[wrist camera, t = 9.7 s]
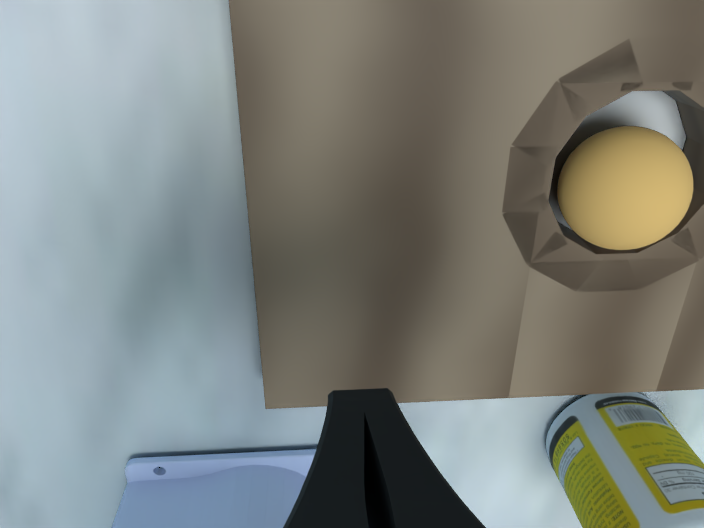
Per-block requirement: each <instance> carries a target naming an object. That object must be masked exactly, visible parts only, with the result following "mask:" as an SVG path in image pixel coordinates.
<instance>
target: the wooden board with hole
mask: <svg viewBox="0 0 704 528" xmlns="http://www.w3.org/2000/svg"><path fill="white" fill-rule="evenodd" d="M229 8H230V19H231V31H232V42H233V53H234V64H235V75H236V86H237V97H238V108H239V119H240V130H241V142H242V153H243V164H244V175H245V186H246V197H247V208H248V219H249V230H250V241H251V252H252V264H253V275H254V286H255V297H256V308H257V319H258V330H259V341H260V352H261V363H262V375H263V386H264V397H265V408H266V409H274V408H296V407H318V406H327V404H328V394H329V393H331V392H332V391H333V390H355V389H378V388H388V389H389V390H390V391H391V392H392V393H393V395H394V398H395V400H396V402H397V403H407V402H429V401H452V400H474V399H496V398H518V397H540V396H562V395H585V394H607V393H629V392H651V391H673V390H695V389H704V0H229ZM631 91H663V92H665V93H666V94H668V95H669V96H670V97H672V98H673V99H675V100H676V102H677V105H678V108H679V112H680V115H681V119H682V122H683V126H684V129H685V132H686V136H687V139H686V142H685V146H684V150H683V153H684V154H685V156H686V158H687V160H688V162H689V164H690V167H691V170H692V175H693V194H692V199H691V202H690V205H689V208H688V210H687V212H686V214H685V216H684V217H683V219H682V220H681V221H680V223H679V224H678V225H677V226H676V227H675V228H674V229H673V230H672V231H671V232H670V233H669V234H667V235H666V236H665V237H663V238H662V239H660V240H658V241H656V242H655V243H652V244H650V245H647V246H644V247H641V248H637V249H630V250H613V249H607V248H602V247H599V246H596V245H594V244H592V243H590V242H588V241H586V240H584V239H583V238H582V237H580V236H579V235H578V234H576V233H575V232H574V231H573V230H571V229H569V228H567V227H565V226H564V225H562V224H560V223H559V222H557V220H556V218H555V215H554V213H553V211H552V208H551V206H550V204H549V202H548V200H549V194H550V188H551V182H552V176H553V170H554V165H555V159H556V156H557V155H558V154H559V152H560V151H561V150H562V148H563V147H564V145H565V144H566V143H567V141H568V140H569V139H570V137H571V136H572V135H573V133H574V132H575V131H576V129H577V128H578V127H579V125H580V124H581V123H582V121H583V120H584V119H585V117H586V116H588V115H589V114H591V113H593V112H595V111H597V110H598V109H600V108H602V107H604V106H606V105H608V104H609V103H611V102H613V101H615V100H617V99H618V98H620V97H622V96H624V95H626V94H628V93H629V92H631Z"/></svg>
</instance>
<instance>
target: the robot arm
mask: <svg viewBox="0 0 704 528" xmlns="http://www.w3.org/2000/svg"><path fill="white" fill-rule="evenodd" d="M158 467H162V468H163V469H162V468H158ZM125 475H126V479H127V485H126V488H125V491H124V493H123V496H122V499H121V502H120V505H119V508H118V511H117V514H116V516H115V519H114V522H113V525H112V528H486V527H485V526H484V525H483V524H482V523H481V522H480V521H479V520H478V519H477V517H476V516H475V515H474V514H473V513H472V512H471V511H470V510H469V508H468V507H467V506H466V505H465V504H464V502H463V501H462V500H461V499H460V498H459V496H458V495H457V494H456V493H455V491H454V490H453V489H452V487H451V486H450V485H449V483H448V482H447V481H446V480H445V478H444V477H443V476H442V474H441V473H440V472H439V470H438V469H437V467H436V466H435V465H434V463H433V462H432V460H431V459H430V457H429V456H428V454H427V453H426V451H425V450H424V448H423V447H422V445H421V444H420V442H419V441H418V439H417V438H416V436H415V434H414V433H413V431H412V429H411V428H410V426H409V424H408V423H407V421H406V419H405V417H404V415H403V414H402V412H401V410H400V408H399V406H398V404H397V402H396V400H395V398H394V395H393V393H392V392H391V391H390V390H389V389H388V388H378V389H355V390H333V391H332V392H331V393H329V394H328V404H327V412H326V417H325V421H324V425H323V429H322V433H321V437H320V440H319V443H318V446H317V449H308V450H288V451H267V452H247V453H227V454H207V455H187V456H166V457H146V458H134V459H131V460H129V461H128V463H127V464H126V467H125Z"/></svg>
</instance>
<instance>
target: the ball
mask: <svg viewBox="0 0 704 528" xmlns="http://www.w3.org/2000/svg"><path fill="white" fill-rule="evenodd" d="M692 194H693V175H692V170H691V167H690V164H689V162H688V160H687V158H686V156H685V154H684V153H683V152H682V150H681V149H680V148H679V147H678V146H677V145H676V144H675V143H674V142H673V141H672V140H670V139H669V138H668V137H666V136H665V135H663V134H661V133H659V132H657V131H654V130H651V129H648V128H643V127H636V126H621V127H614V128H610V129H607V130H603V131H601V132H599V133H596V134H594V135H592V136H591V137H589V138H588V139H586V140H585V141H583V142H582V143H581V144H580V145H578V146H577V147H576V148H575V150H574V151H573V152H572V153H571V154H570V155H569V157H568V158H567V160H566V162H565V164H564V166H563V168H562V170H561V173H560V176H559V180H558V188H557V195H558V203H559V207H560V210H561V212H562V215H563V217H564V219H565V220H566V222H567V223H568V225H569V226H570V227H571V229H572V230H573V231H574V232H575V233H576V234H578V235H579V236H580V237H582V238H583V239H584V240H586V241H588V242H590V243H592V244H594V245H596V246H599V247H602V248H607V249H613V250H630V249H637V248H641V247H644V246H647V245H650V244H652V243H655V242H656V241H658V240H660V239H662V238H663V237H665V236H666V235H667V234H669V233H670V232H671V231H672V230H673V229H674V228H675V227H676V226H677V225H678V224H679V223H680V221H681V220H682V219H683V217H684V216H685V214H686V212H687V210H688V208H689V205H690V202H691V199H692Z"/></svg>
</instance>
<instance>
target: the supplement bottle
mask: <svg viewBox="0 0 704 528" xmlns="http://www.w3.org/2000/svg"><path fill="white" fill-rule="evenodd" d="M546 450H547V455H548V458H549V460H550V462H551V465H552V467H553V469H554V471H555V473H556V475H557V477H558V479H559V481H560V483H561V485H562V487H563V489H564V491H565V493H566V495H567V497H568V499H569V501H570V503H571V505H572V507H573V509H574V511H575V513H576V515H577V517H578V519H579V521H580V523H581V525H582V527H583V528H704V464H703V463H702V461H701V460H700V459H699V457H698V456H697V455H696V454H695V453H694V451H693V450H692V449H691V448H690V446H689V445H688V444H687V442H686V441H685V440H684V439H683V438H682V436H681V435H680V434H679V432H678V431H677V430H676V429H675V428H674V426H673V425H672V424H671V423H670V421H669V420H668V419H667V418H666V417H665V415H664V414H663V413H662V412H661V410H660V409H659V408H658V407H657V406H656V405H655V404H654V403H653V402H652V401H651V400H650V399H649V398H647V397H646V396H644V395H642V394H640V393H637V392H629V393H607V394H589V395H587V396H584V397H582V398H580V399H578V400H577V401H575V402H573V403H572V404H571V405H569V406H568V407H567V408H565V409H564V410H563V411H562V412H561V413H560V414H559V415H558V416H557V418H556V419H555V420H554V422H553V423H552V425H551V427H550V429H549V431H548V434H547V438H546Z"/></svg>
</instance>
